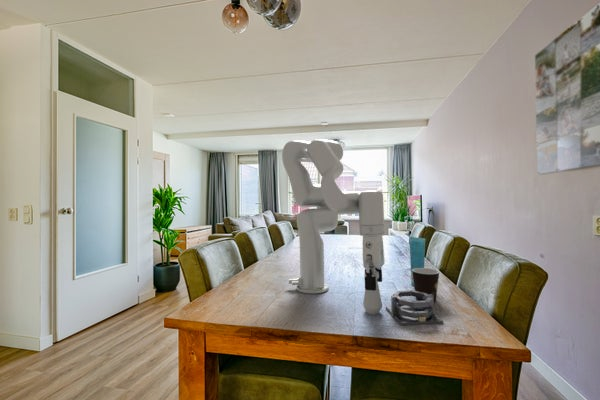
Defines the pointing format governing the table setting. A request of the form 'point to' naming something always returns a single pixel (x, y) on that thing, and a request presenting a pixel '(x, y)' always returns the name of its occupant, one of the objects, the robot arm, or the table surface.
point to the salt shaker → (373, 299)
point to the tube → (416, 253)
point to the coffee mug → (425, 281)
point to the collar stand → (413, 308)
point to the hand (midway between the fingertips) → (374, 285)
